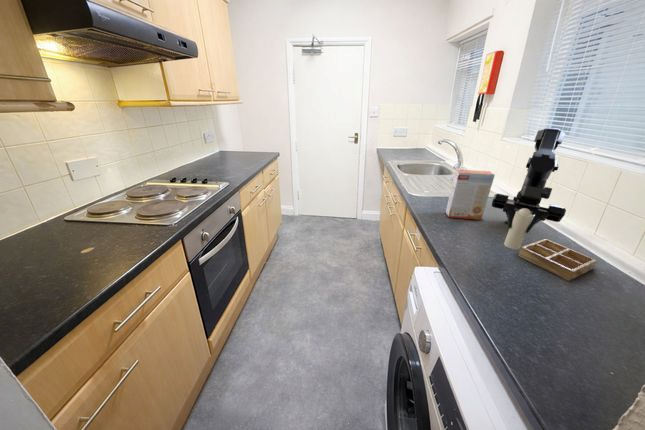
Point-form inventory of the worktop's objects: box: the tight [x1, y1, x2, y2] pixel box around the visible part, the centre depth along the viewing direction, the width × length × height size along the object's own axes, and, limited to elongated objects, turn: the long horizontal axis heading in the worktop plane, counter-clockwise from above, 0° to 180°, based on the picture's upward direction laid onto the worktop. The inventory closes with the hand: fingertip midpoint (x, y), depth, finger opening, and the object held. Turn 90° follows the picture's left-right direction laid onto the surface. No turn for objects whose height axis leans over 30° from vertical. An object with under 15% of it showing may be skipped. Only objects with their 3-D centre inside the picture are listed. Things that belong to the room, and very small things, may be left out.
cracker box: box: [445, 168, 496, 221], centre depth 115 cm, size 14×6×21 cm, turn 80°
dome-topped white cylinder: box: [503, 208, 534, 251], centre depth 85 cm, size 4×4×14 cm
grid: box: [517, 238, 598, 282], centre depth 88 cm, size 15×15×3 cm
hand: (517, 230), depth 84 cm, fingers closed on dome-topped white cylinder, 4 cm apart
